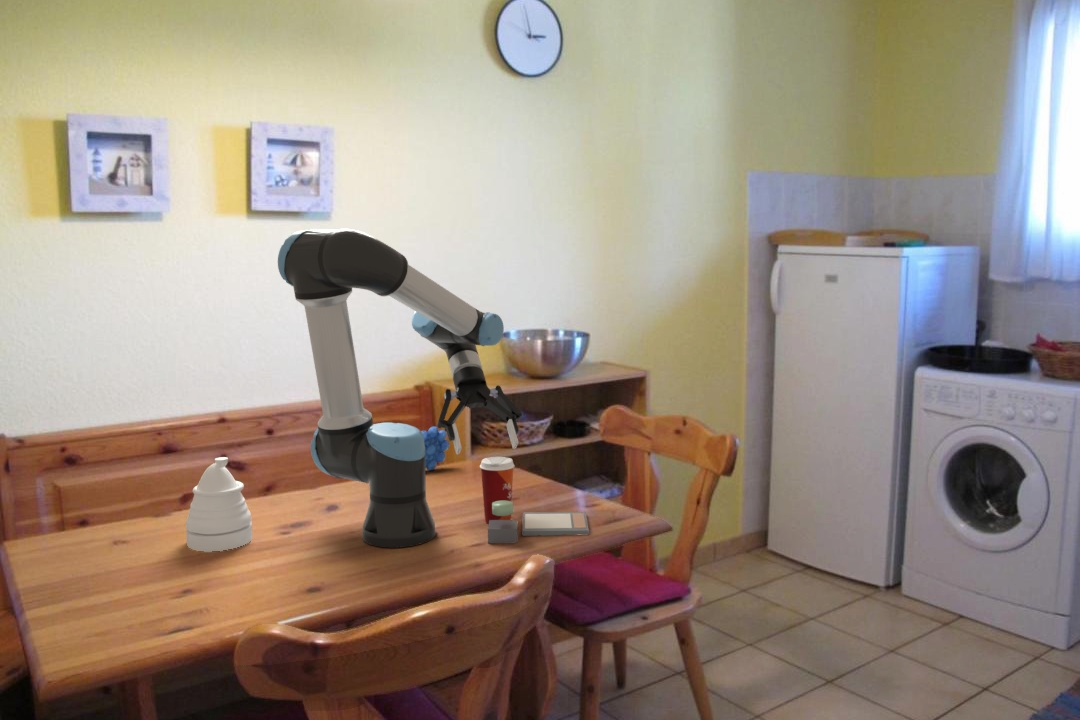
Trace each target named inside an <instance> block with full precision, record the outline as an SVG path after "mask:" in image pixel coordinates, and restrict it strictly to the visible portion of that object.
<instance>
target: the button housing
mask: <svg viewBox="0 0 1080 720" xmlns="http://www.w3.org/2000/svg"><path fill="white" fill-rule="evenodd" d="M518 523H519V521H518V519H511V520H489V525H488V524H487V526H488V527H487V542H488V543H487V544H518V536H519V535H518V533H519V531H518V530H519V529H518V528H519V525H518Z"/></svg>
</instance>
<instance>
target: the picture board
mask: <svg viewBox="0 0 1080 720" xmlns="http://www.w3.org/2000/svg"><path fill="white" fill-rule="evenodd" d="M521 531H522V534H521V535H522V537H525V536H527V537H528V536H529V537H530V536H533V537H535V536H537V535H541V536H564V535H563V534H567V535H566V536H575V535H574V534H589V535H590V529H589V523H588V518H587V513H586V511H540V512H539V511H537V512H536V511H533V512H531V511H530V512H529V511H527V512H525V511H524V512H523V513H522V530H521Z"/></svg>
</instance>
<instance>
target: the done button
mask: <svg viewBox="0 0 1080 720" xmlns="http://www.w3.org/2000/svg"><path fill="white" fill-rule="evenodd" d="M492 514H493V515H496V516H508V515H511V516H512V515H513V514H514V502H513V501H512V502H511V501H506V500H501V501H495V502H493V503H492Z"/></svg>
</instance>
